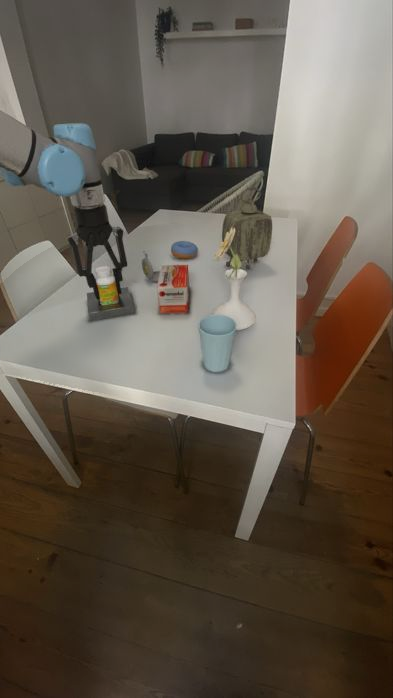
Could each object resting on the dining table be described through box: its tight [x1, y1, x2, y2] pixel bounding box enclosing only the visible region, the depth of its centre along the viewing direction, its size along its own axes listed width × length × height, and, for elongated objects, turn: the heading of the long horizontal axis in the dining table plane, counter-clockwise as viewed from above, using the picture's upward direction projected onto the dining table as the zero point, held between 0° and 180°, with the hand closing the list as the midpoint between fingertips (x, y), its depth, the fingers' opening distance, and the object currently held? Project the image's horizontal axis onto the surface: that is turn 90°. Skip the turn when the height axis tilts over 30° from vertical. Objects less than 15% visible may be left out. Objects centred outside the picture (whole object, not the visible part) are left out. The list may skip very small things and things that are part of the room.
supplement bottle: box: [94, 265, 120, 306], centre depth 86 cm, size 5×5×10 cm
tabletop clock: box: [221, 186, 273, 270], centre depth 103 cm, size 14×9×25 cm, turn 111°
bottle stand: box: [86, 286, 135, 322], centre depth 89 cm, size 12×12×2 cm
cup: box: [197, 314, 237, 373], centre depth 67 cm, size 8×8×10 cm
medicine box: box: [156, 264, 190, 314], centre depth 90 cm, size 15×8×8 cm, turn 1°
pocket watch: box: [141, 250, 160, 283], centre depth 101 cm, size 8×8×10 cm
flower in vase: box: [211, 227, 256, 332], centre depth 74 cm, size 13×11×25 cm
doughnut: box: [170, 240, 199, 260], centre depth 118 cm, size 10×10×5 cm
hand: (108, 294), depth 88 cm, fingers closed on supplement bottle, 5 cm apart
